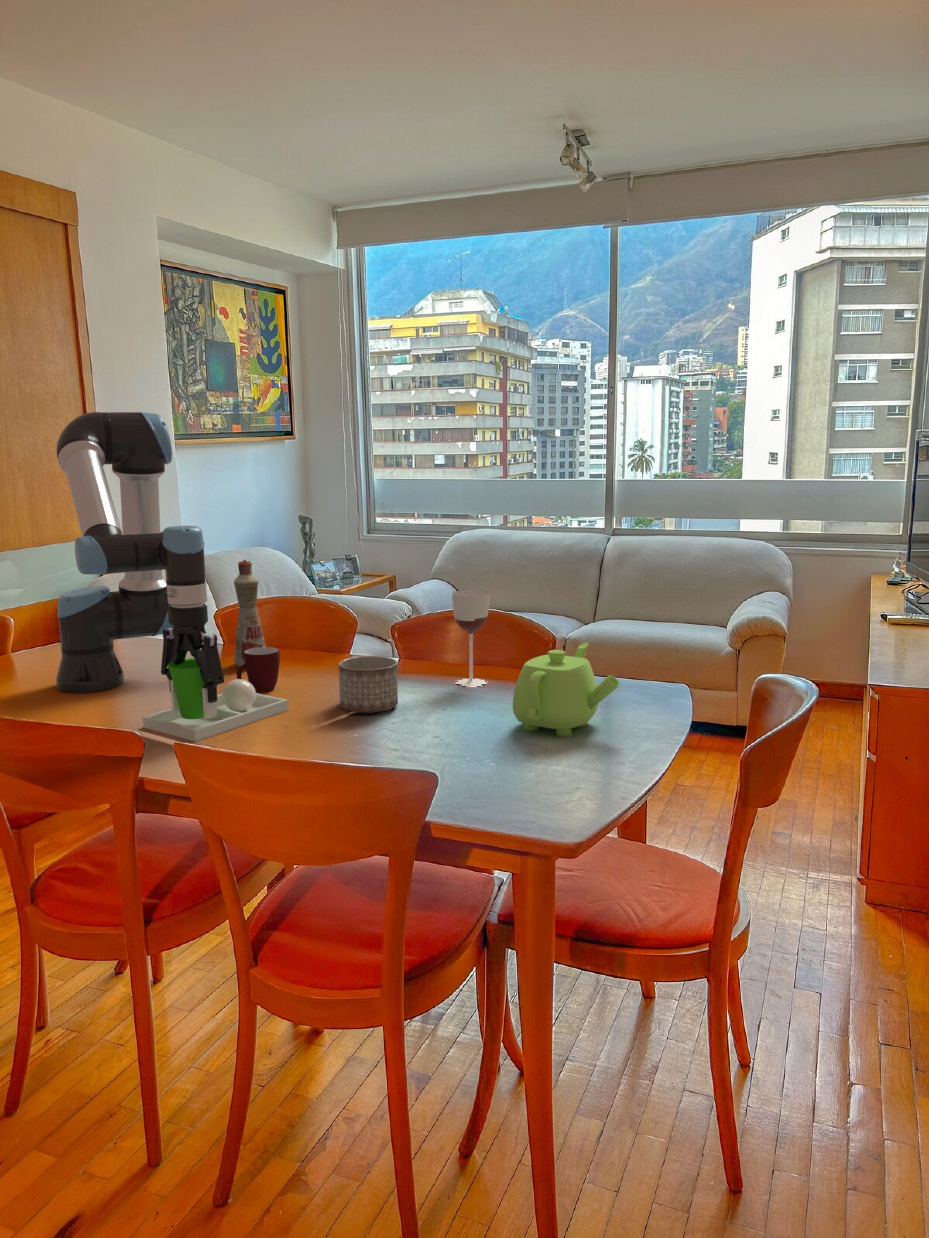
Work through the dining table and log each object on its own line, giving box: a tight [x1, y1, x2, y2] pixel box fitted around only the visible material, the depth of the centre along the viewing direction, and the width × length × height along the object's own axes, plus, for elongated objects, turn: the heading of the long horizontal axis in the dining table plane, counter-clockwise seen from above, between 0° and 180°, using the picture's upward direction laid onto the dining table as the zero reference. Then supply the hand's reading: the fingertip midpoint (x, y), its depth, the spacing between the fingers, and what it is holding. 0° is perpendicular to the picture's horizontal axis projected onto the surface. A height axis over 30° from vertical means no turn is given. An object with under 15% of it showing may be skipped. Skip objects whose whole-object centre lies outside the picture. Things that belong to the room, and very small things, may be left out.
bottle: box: [233, 559, 267, 669], centre depth 233 cm, size 9×9×28 cm
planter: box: [338, 655, 399, 714], centre depth 197 cm, size 13×13×10 cm
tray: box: [142, 692, 290, 743], centre depth 188 cm, size 16×25×3 cm, turn 146°
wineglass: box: [451, 589, 490, 688], centre depth 216 cm, size 9×10×22 cm
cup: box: [167, 657, 210, 719], centre depth 182 cm, size 9×9×11 cm
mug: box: [236, 646, 281, 693], centre depth 208 cm, size 10×8×10 cm
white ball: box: [221, 678, 257, 712], centre depth 192 cm, size 7×7×7 cm
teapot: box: [512, 642, 620, 738], centre depth 183 cm, size 25×22×16 cm
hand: (194, 713), depth 183 cm, fingers closed on cup, 9 cm apart
